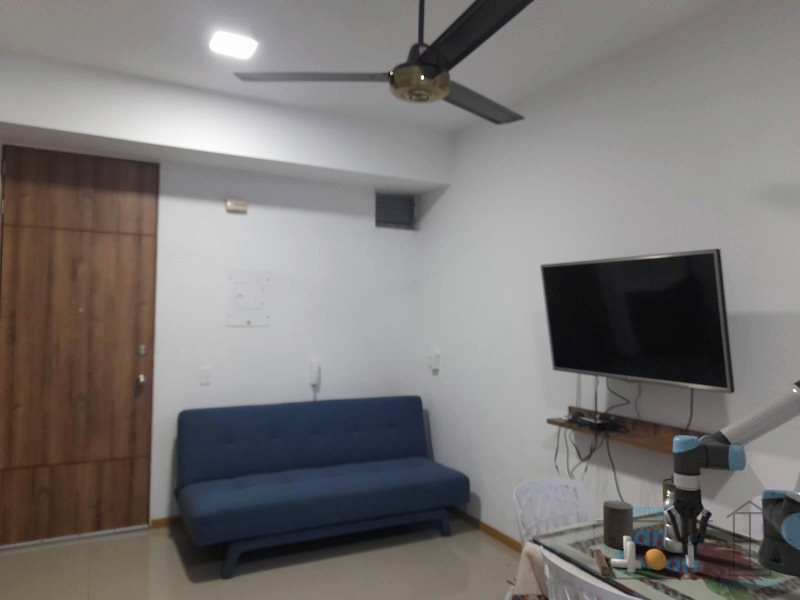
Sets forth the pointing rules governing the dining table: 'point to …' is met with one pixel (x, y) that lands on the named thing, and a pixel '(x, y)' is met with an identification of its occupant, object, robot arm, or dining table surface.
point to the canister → (667, 485)
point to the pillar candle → (617, 522)
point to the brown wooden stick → (601, 561)
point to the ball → (655, 559)
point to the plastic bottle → (669, 537)
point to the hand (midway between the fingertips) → (690, 565)
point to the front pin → (623, 563)
